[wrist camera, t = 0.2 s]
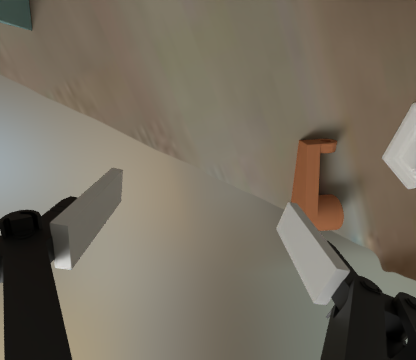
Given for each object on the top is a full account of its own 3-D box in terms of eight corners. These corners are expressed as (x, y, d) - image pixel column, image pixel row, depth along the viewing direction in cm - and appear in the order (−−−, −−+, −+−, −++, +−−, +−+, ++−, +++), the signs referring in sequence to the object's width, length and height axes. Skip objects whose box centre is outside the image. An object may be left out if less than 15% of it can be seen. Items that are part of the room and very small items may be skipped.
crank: (319, 216, 51) (338, 237, 44) (288, 218, 51) (302, 239, 44) (336, 137, 43) (362, 147, 36) (298, 139, 43) (317, 150, 36)
